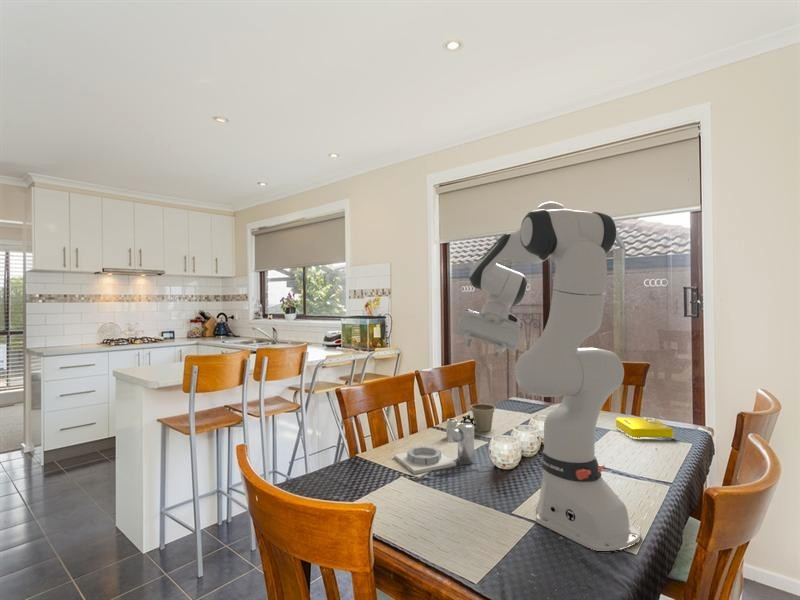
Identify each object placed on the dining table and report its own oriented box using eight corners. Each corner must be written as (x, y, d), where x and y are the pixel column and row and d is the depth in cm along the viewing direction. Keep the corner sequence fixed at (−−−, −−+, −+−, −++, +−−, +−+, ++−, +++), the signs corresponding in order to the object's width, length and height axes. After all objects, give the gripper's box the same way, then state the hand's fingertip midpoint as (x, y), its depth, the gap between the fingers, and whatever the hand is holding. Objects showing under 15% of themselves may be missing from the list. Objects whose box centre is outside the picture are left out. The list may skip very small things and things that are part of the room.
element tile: (613, 428, 169) (613, 416, 169) (653, 428, 169) (653, 416, 169) (632, 441, 154) (632, 427, 154) (676, 441, 154) (676, 428, 154)
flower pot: (468, 431, 164) (468, 409, 163) (472, 424, 173) (472, 403, 172) (494, 434, 161) (494, 410, 161) (496, 426, 170) (496, 404, 170)
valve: (455, 441, 153) (476, 434, 161) (455, 422, 153) (476, 416, 161) (441, 436, 158) (462, 430, 166) (441, 418, 158) (462, 412, 166)
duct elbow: (477, 462, 134) (477, 426, 133) (454, 466, 130) (454, 430, 130) (468, 456, 138) (468, 422, 138) (445, 461, 134) (445, 425, 134)
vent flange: (455, 465, 131) (455, 455, 131) (414, 474, 125) (414, 463, 125) (432, 450, 143) (432, 441, 143) (394, 457, 137) (394, 448, 137)
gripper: (464, 301, 142) (451, 333, 134) (525, 321, 138) (516, 355, 130) (461, 313, 147) (449, 344, 139) (521, 333, 143) (511, 366, 134)
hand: (482, 350), depth 134 cm, fingers open, 8 cm apart
